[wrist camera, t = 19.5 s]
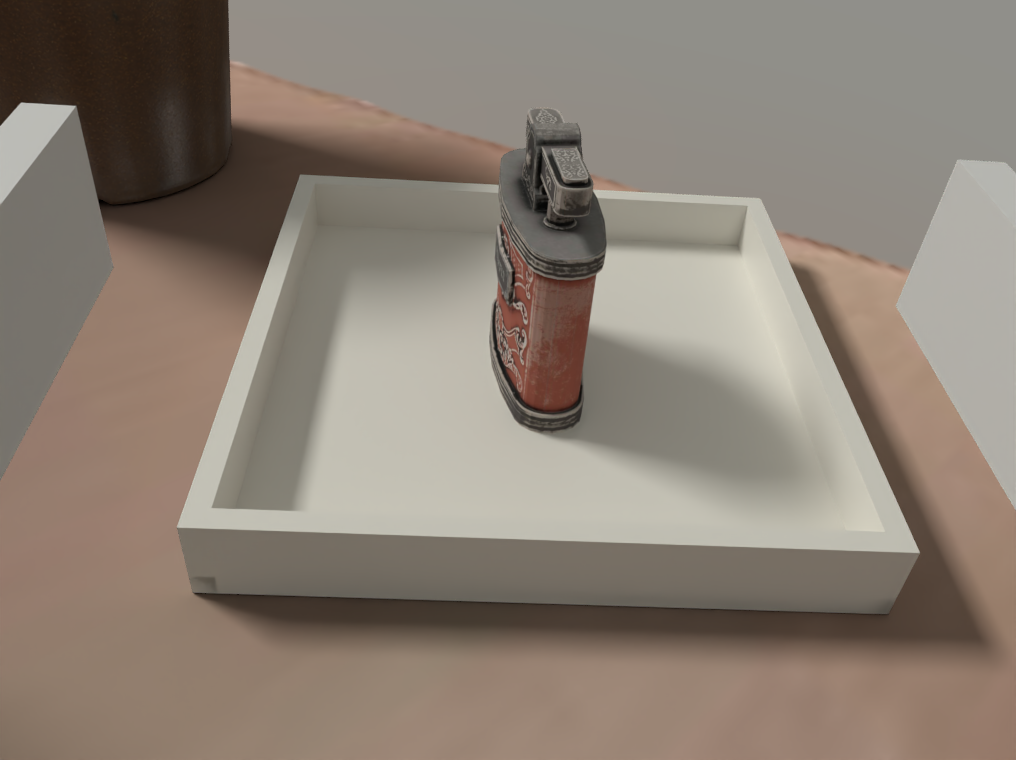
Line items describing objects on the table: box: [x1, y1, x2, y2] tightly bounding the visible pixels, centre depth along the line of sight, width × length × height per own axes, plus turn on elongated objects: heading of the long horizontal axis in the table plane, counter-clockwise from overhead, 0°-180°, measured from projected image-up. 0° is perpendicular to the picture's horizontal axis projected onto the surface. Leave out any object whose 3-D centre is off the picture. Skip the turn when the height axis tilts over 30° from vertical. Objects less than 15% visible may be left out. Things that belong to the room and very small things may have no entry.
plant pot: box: [0, 0, 232, 205], centre depth 46 cm, size 16×16×16 cm
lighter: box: [489, 108, 607, 434], centre depth 34 cm, size 8×3×10 cm, turn 9°
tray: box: [177, 175, 920, 614], centre depth 37 cm, size 22×22×3 cm
